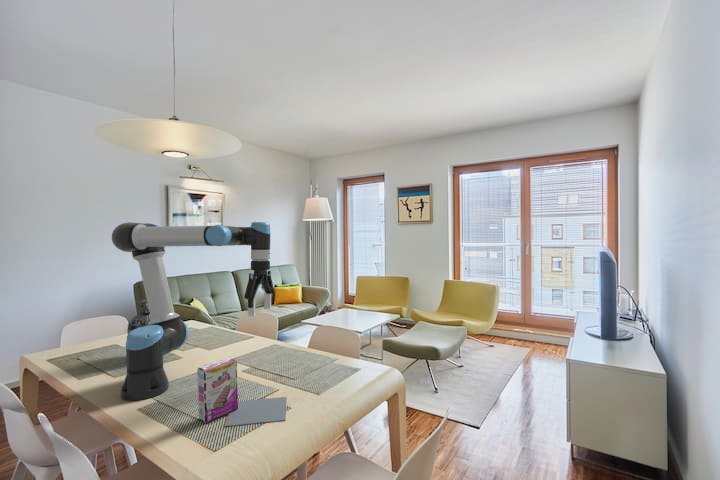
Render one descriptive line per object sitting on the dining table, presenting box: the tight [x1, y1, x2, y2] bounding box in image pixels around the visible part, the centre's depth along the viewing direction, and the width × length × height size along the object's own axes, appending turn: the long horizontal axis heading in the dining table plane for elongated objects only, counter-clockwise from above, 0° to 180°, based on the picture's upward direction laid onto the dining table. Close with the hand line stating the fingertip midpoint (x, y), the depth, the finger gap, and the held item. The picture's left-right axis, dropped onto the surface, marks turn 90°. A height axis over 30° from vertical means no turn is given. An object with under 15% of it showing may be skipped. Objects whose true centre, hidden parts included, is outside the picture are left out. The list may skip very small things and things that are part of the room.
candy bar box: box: [197, 357, 239, 424], centre depth 110 cm, size 11×5×16 cm, turn 141°
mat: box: [224, 396, 287, 428], centre depth 113 cm, size 18×16×1 cm
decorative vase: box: [126, 298, 151, 335], centre depth 167 cm, size 21×19×28 cm
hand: (259, 312), depth 139 cm, fingers open, 13 cm apart
